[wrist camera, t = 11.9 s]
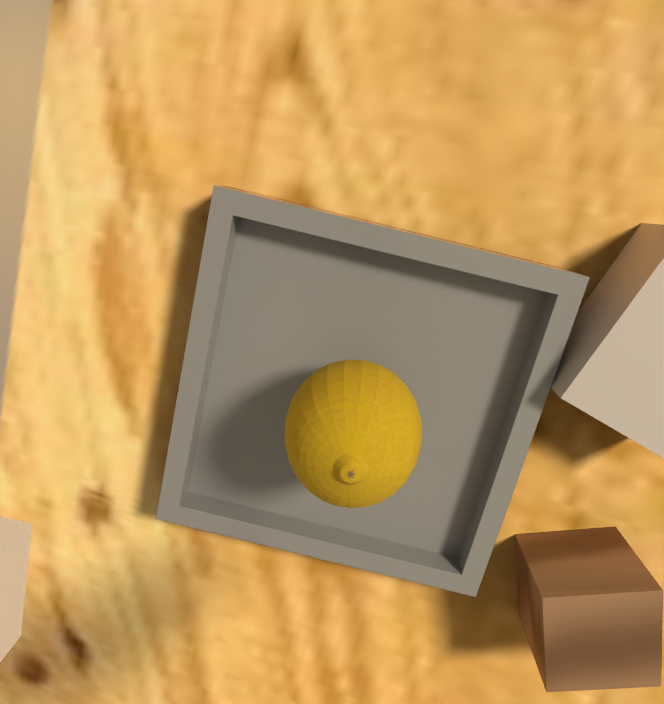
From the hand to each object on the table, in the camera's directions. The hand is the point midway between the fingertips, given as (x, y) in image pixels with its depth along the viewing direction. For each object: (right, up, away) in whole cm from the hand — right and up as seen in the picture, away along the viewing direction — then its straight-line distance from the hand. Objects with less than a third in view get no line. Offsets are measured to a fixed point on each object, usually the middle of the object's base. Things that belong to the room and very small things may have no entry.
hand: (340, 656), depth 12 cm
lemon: (+1, +4, +16) cm, 17 cm away
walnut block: (+12, -5, +19) cm, 23 cm away
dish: (+1, +4, +17) cm, 17 cm away
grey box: (+14, +7, +15) cm, 22 cm away
